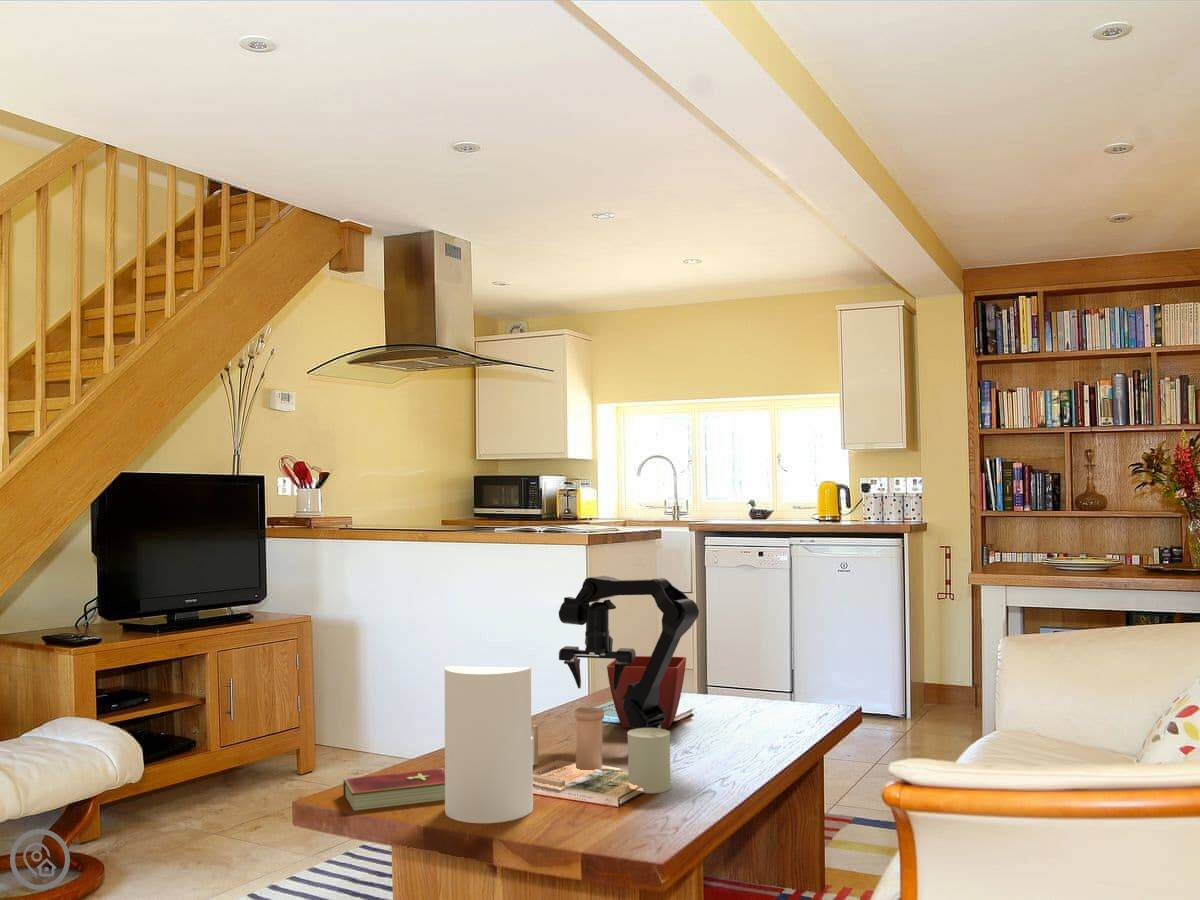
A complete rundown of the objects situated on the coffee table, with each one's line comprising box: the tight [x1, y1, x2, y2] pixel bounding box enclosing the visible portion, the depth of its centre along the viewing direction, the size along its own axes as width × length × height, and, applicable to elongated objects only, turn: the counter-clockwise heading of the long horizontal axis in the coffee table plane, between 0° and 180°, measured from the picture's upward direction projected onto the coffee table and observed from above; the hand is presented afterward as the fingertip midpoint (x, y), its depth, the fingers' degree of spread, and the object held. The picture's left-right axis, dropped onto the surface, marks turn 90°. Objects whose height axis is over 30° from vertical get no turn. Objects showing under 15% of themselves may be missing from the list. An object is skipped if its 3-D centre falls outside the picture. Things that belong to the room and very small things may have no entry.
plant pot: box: [606, 655, 687, 730], centre depth 282 cm, size 19×19×17 cm
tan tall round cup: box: [574, 707, 605, 770], centre depth 235 cm, size 7×7×13 cm
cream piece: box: [531, 724, 621, 787], centre depth 232 cm, size 21×19×9 cm
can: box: [626, 728, 672, 794], centre depth 221 cm, size 9×9×12 cm
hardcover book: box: [342, 767, 445, 811], centre depth 215 cm, size 12×21×4 cm, turn 112°
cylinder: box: [444, 665, 534, 824], centre depth 206 cm, size 17×17×28 cm
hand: (597, 689), depth 262 cm, fingers open, 9 cm apart
